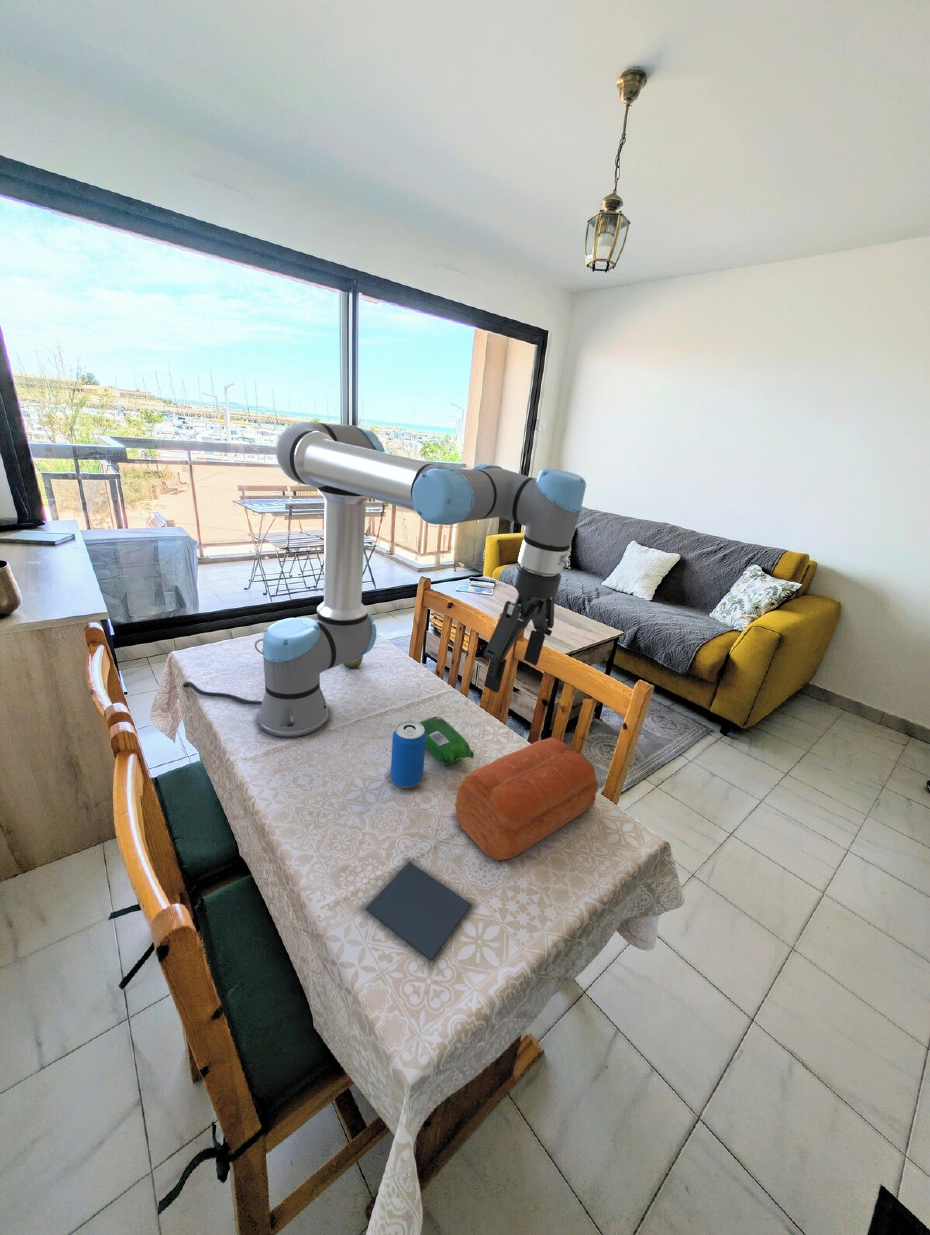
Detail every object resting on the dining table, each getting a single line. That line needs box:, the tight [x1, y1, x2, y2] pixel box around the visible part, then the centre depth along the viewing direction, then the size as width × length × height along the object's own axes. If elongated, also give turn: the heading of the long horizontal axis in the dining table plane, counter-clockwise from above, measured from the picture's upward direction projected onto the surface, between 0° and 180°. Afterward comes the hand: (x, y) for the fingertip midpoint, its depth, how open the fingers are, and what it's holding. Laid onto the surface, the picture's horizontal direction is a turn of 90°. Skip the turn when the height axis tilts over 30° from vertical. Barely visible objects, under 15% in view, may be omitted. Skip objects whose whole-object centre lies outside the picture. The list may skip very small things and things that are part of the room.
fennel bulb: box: [342, 655, 364, 669], centre depth 133 cm, size 6×5×12 cm
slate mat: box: [365, 861, 472, 962], centre depth 70 cm, size 12×10×1 cm
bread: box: [454, 737, 599, 862], centre depth 88 cm, size 16×27×11 cm, turn 128°
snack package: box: [418, 716, 475, 766], centre depth 103 cm, size 7×16×5 cm, turn 35°
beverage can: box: [389, 720, 426, 789], centre depth 93 cm, size 6×6×12 cm
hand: (511, 674), depth 87 cm, fingers open, 13 cm apart
